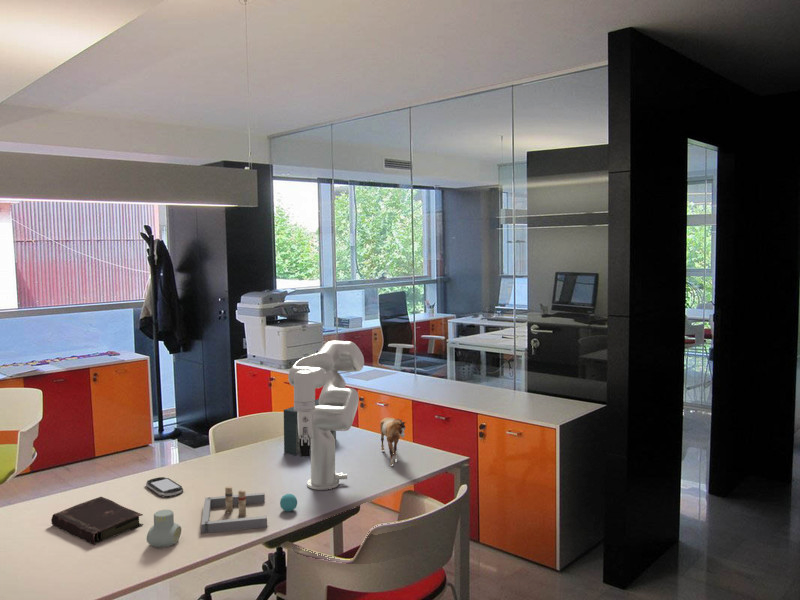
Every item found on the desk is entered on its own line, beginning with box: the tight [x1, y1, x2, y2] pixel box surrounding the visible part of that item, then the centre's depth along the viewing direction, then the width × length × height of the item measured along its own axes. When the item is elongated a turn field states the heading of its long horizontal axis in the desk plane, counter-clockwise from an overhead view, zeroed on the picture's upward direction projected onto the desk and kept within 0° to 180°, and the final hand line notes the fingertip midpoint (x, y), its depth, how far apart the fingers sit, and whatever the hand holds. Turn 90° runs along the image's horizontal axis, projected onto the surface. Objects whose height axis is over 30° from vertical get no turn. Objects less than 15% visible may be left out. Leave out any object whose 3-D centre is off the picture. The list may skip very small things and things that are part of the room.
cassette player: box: [283, 398, 337, 456], centre depth 302 cm, size 29×7×20 cm, turn 148°
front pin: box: [237, 489, 247, 518], centre depth 225 cm, size 2×2×9 cm
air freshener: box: [146, 509, 182, 548], centre depth 203 cm, size 11×8×10 cm
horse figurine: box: [379, 416, 407, 465], centre depth 285 cm, size 31×8×21 cm, turn 10°
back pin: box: [224, 485, 234, 514], centre depth 228 cm, size 2×2×9 cm
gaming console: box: [145, 476, 184, 498], centre depth 249 cm, size 19×9×2 cm, turn 43°
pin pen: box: [200, 492, 268, 534], centre depth 224 cm, size 21×23×3 cm
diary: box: [50, 496, 144, 546], centre depth 217 cm, size 19×25×5 cm
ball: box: [279, 493, 298, 512], centre depth 229 cm, size 6×6×6 cm
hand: (304, 452), depth 231 cm, fingers open, 9 cm apart
